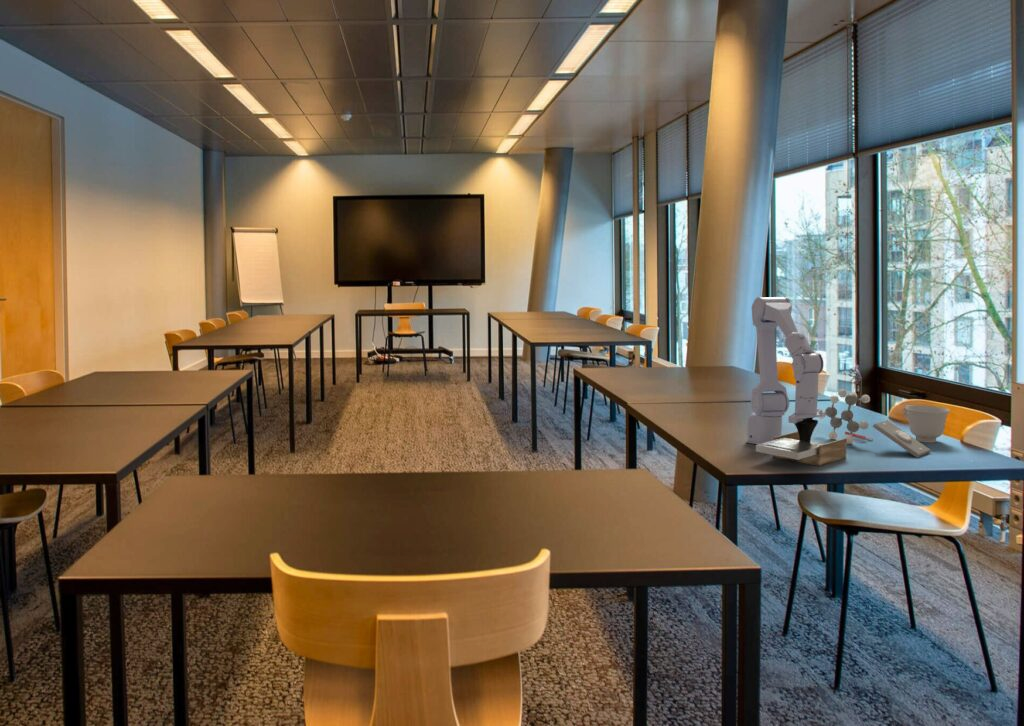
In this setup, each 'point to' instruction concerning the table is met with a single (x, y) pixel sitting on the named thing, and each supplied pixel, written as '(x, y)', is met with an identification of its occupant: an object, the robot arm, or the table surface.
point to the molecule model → (845, 415)
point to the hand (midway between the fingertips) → (804, 445)
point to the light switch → (901, 438)
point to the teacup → (926, 421)
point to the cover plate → (789, 448)
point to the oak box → (820, 451)
